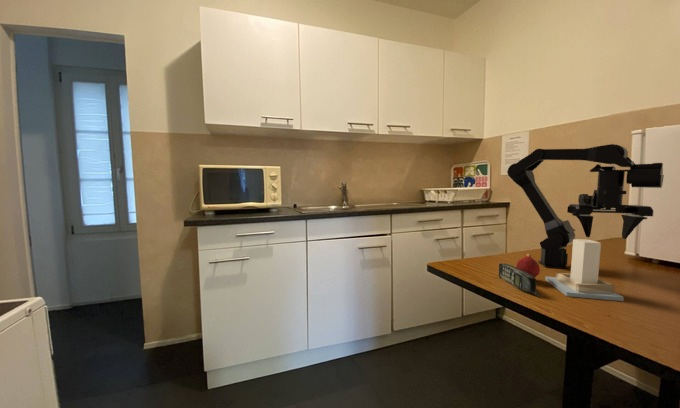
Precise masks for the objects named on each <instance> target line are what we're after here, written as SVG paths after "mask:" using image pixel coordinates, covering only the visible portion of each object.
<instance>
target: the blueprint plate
mask: <svg viewBox="0 0 680 408" xmlns="http://www.w3.org/2000/svg"><path fill="white" fill-rule="evenodd" d="M545 281H546V282H548V283H549V284H550V285H551V286H553V287H554V288H555V289H557V290H558V291H559V292H561V293H562V294H563V295H564V296H566V297H572V298H582V299H583V298H584V299H594V300H604V301H605V300H606V301H607V300H608V301H617V302H618V301H619V302H624V298H625V296H622V295H620V294H619V293H617V292H615V291H614V293H596V292H577V291H576V290H574V289H572V288H570V287H568V286H566V285H564V284H562V283H561V282H559V281H557V280H556V276H547V275H546V276H545Z"/></svg>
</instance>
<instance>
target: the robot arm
mask: <svg viewBox="0 0 680 408" xmlns="http://www.w3.org/2000/svg"><path fill="white" fill-rule="evenodd" d="M545 161H585V162H586V161H587V162H593V163H599V164H596V165H595V166H594V167H593V168H591V169H589V172H590V173H597V175H598V176H597V185H596V189H594V191H593V194H592V195H589V194H588V193H580V194H579V195H578V203H570V204H568V207H567V210H566V211H567V213H569V214H571V215H572V216H573V217H576V218H577V219H578V220H579V222H580V224H581V227H582V229H583V232H584V235H585V237H586V238H590V237H591V234H592V229H593V228H592V227H593V221H594V216H593V215H591V214H594V213H595V214H596V213H597V214H599V213H601V214H607V213H608V214H621V215H620V216H621V217H622V220H623V223H622V229H621V230H622V231H621V238H622V239H623V240H626V239H627V238H628V237H629V236H630V235H631V233H632V232H633V231H634V230H635V229H636V228H637V227H638V225H639V224H641V222H642V221H644V220H647V219H648V217H654V209H653V207H652V206H649V205H648V206H647V205H642V204H641V205H639V204H623V199H624V198H623V197H624V195H627V190H624V185H625V184H624V183H626V184H627V185H630V186H631V188H644V189H645V188H646V189H647V188H648V189H649V188H652V189H653V188H655V189H656V188H657V189H659V188H660V189H661V188H663V183H664V177H665V175H664V174H663V173H664V168H663V166H664V164H663V162H653V163H635V161H634V160H632V159H631V158H630V157H629V151H628V149H627V148H626V147H624V146H622V145H619V144H614V143H611V144H604V145H596V146H593V147H587V148H545V149H544V148H536V149H534V150H533V151H532V152H531V153H529V154H528V155H526V156H525V157H523V158H522V159H520V160H519V161H518V162H516V163H513V164H510V166H509V167H508V169H507V170H506V173H507V175H508V176H509V178H510V179H511V180H512V181H513V182H514V183H515V184H516V185H517V186H519V187H520V188H521V190H522V191H523V193H524V194H525V196H526V197H527V198H528V200H529V201H530V203H531V204H532V207H533V208H534V209H535V211H536V212H537V214H538V215H539V217H540V219H541V220H542V221H543V223H544V230H545V234H546V236H547V237H546V238H544V239H542V241H540V242H539V244H540V249H541V250H540V260H538V261H537V263H538V264H541V265H542V266H544V267H545V268H552V269H554V268H555V269H569V267H568V259H569V257H568V256H569V254H568V253H567V249H566V248H567V246H568V244H571V243H573V239H576V233H575V231H576V229H575V228H573V226H572V225H571V223H570V220H568V219H567V220H562V219H561V218H560V217H558V214H557V213H556V212H555V210H554V209H553V208H552V206H551V205H550V203H549V201H548V200H547V198H546V197H545V195H544V193H543V192H542V191H541V189H540V187H539V186H538V185H537V183H536V180H535V179H536V178H535V174H534V170H535V169H536V168H538V167H539V166H540V165H541V164H542V163H543V162H545ZM601 164H607V165H608V166H602V165H601ZM609 165H612V166H609ZM613 165H616V166H618V167H620V168H629V169H617V168H616V166H613ZM625 174H626V175H625ZM625 176H626V182H625Z"/></svg>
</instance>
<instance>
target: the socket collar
mask: <svg viewBox="0 0 680 408" xmlns="http://www.w3.org/2000/svg"><path fill="white" fill-rule="evenodd" d="M570 275H571V272H569V273H567V272H565V273H564V272H563V273H562V272H556V273H555V277H556V280H557V281H559V282H561V283H562V284H564V285H566V286H568V287H570V288H572V289H574V290H576V291H577V292H596V293H614V292H615V286H616V285H615V284H612V283H610V282H608V281H606V280H604V279H600V278H599V277H598V284H582V283H578V282H576V281H574V280H572V279H570Z"/></svg>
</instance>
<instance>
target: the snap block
mask: <svg viewBox="0 0 680 408" xmlns="http://www.w3.org/2000/svg"><path fill="white" fill-rule="evenodd" d="M601 248H602V242H599V241H596V240H592V239H589V238H588V239H584V238H583V239H581V238H580V239H577V238H575V239H573V242H572V248H571V249H572V250H571V252H572V253H571V265H570V273H571V275H570V279H572V280H574V281H576V282H578V283H582V284H598V278H599V271H600V260H601V250H602V249H601Z"/></svg>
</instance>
